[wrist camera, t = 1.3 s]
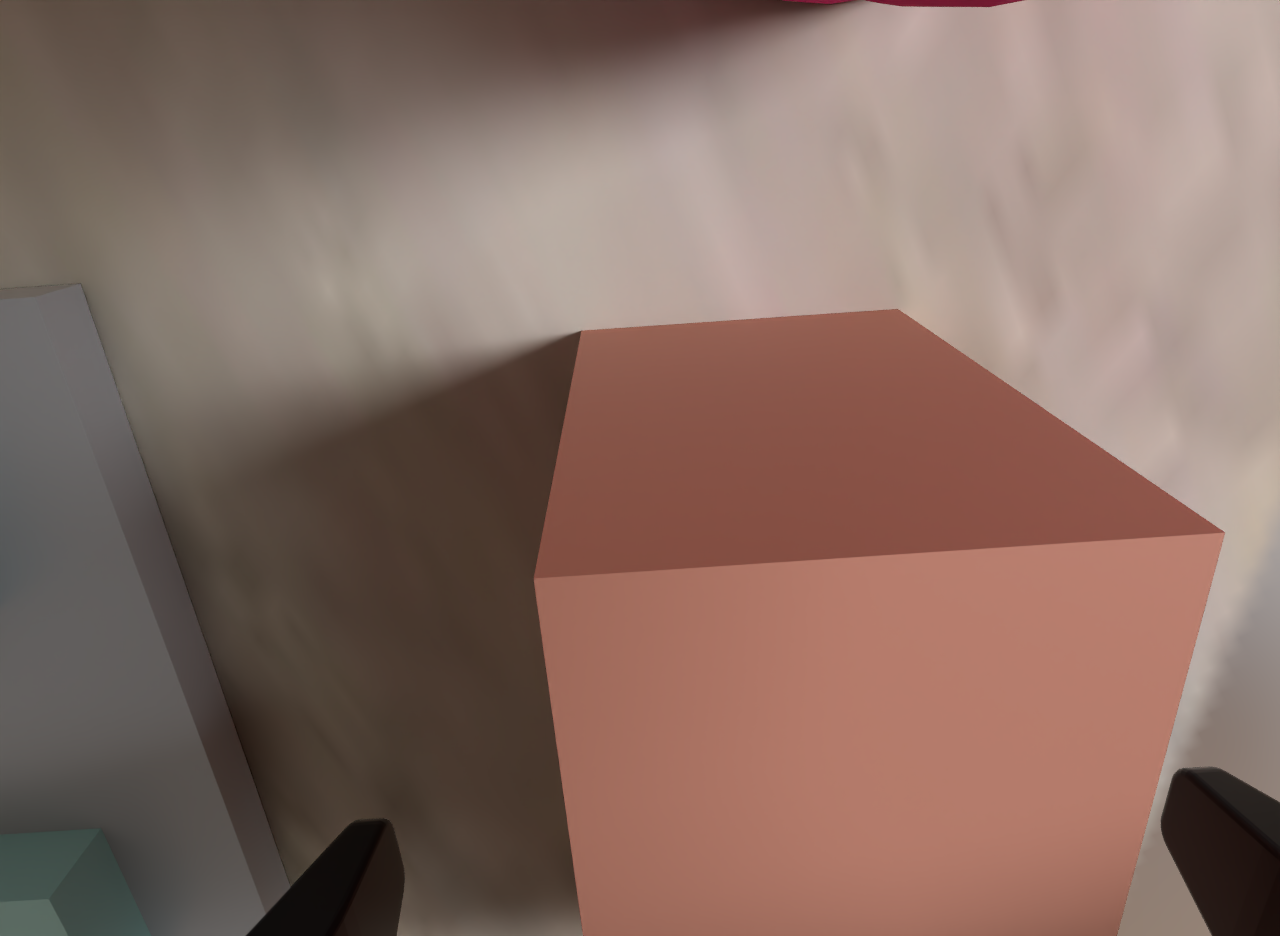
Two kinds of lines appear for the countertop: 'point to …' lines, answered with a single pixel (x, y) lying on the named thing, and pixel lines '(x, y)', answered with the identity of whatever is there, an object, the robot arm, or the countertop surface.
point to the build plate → (106, 671)
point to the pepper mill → (926, 2)
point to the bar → (852, 638)
